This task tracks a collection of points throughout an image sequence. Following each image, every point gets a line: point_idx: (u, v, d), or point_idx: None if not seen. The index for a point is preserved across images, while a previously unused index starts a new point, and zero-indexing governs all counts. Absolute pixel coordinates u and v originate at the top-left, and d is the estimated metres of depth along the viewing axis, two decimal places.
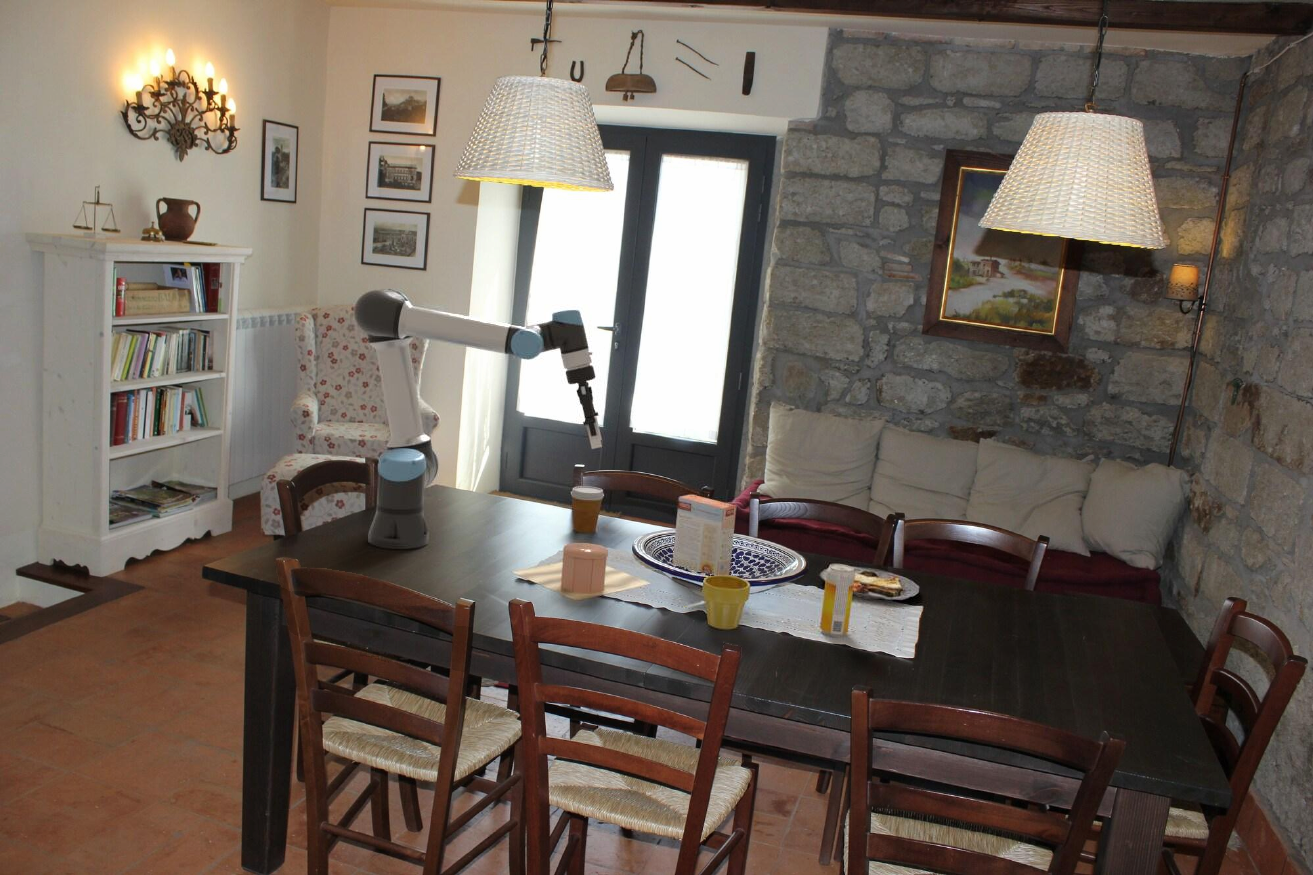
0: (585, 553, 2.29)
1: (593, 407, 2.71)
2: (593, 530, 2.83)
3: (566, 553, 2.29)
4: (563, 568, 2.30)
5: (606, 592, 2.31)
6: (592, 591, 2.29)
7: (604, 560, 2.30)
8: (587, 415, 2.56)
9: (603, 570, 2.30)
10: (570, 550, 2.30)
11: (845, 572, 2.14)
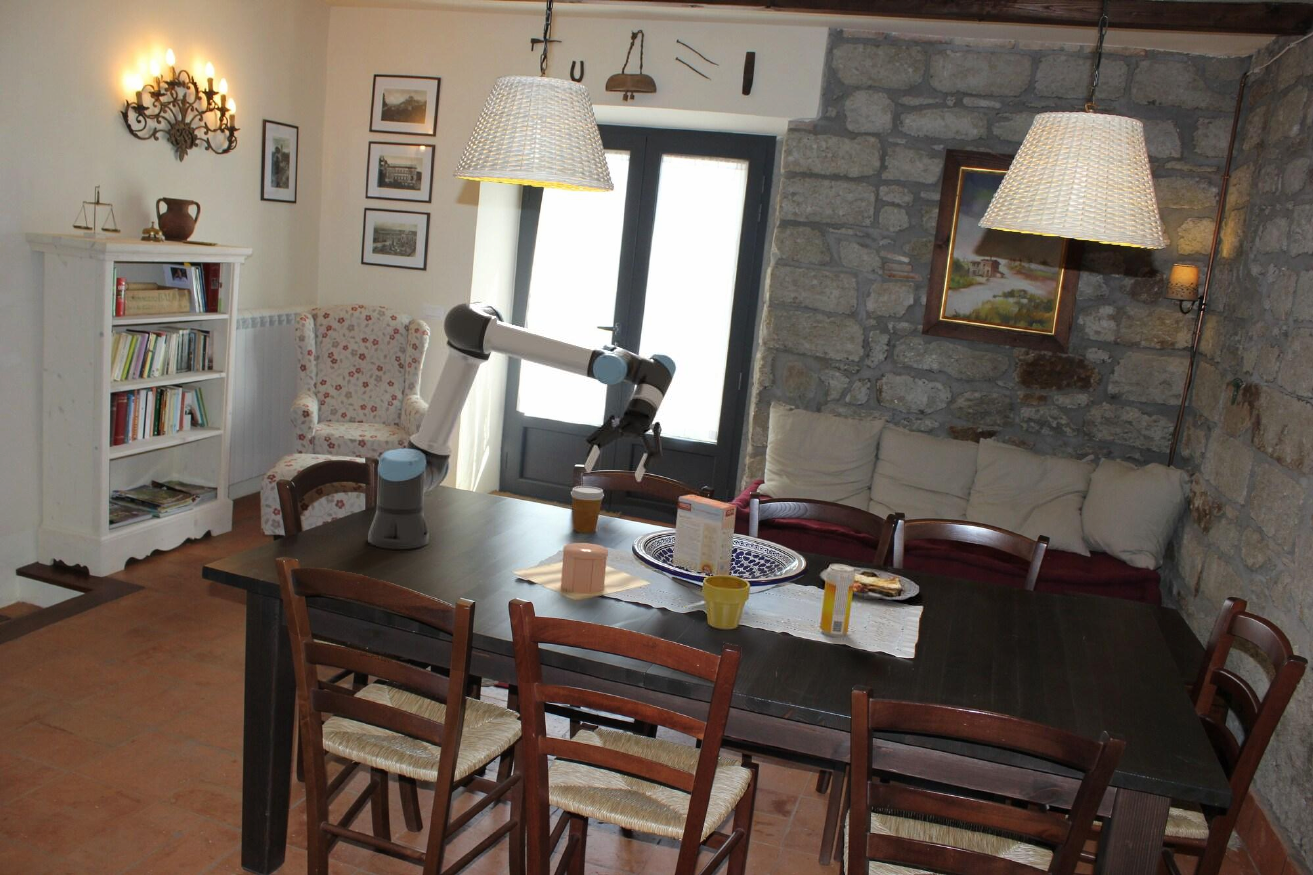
0: (585, 553, 2.29)
1: None
2: (593, 530, 2.83)
3: (566, 553, 2.29)
4: (563, 568, 2.30)
5: (606, 592, 2.31)
6: (592, 591, 2.29)
7: (604, 560, 2.30)
8: (660, 449, 2.40)
9: (603, 570, 2.30)
10: (570, 550, 2.30)
11: (845, 572, 2.14)
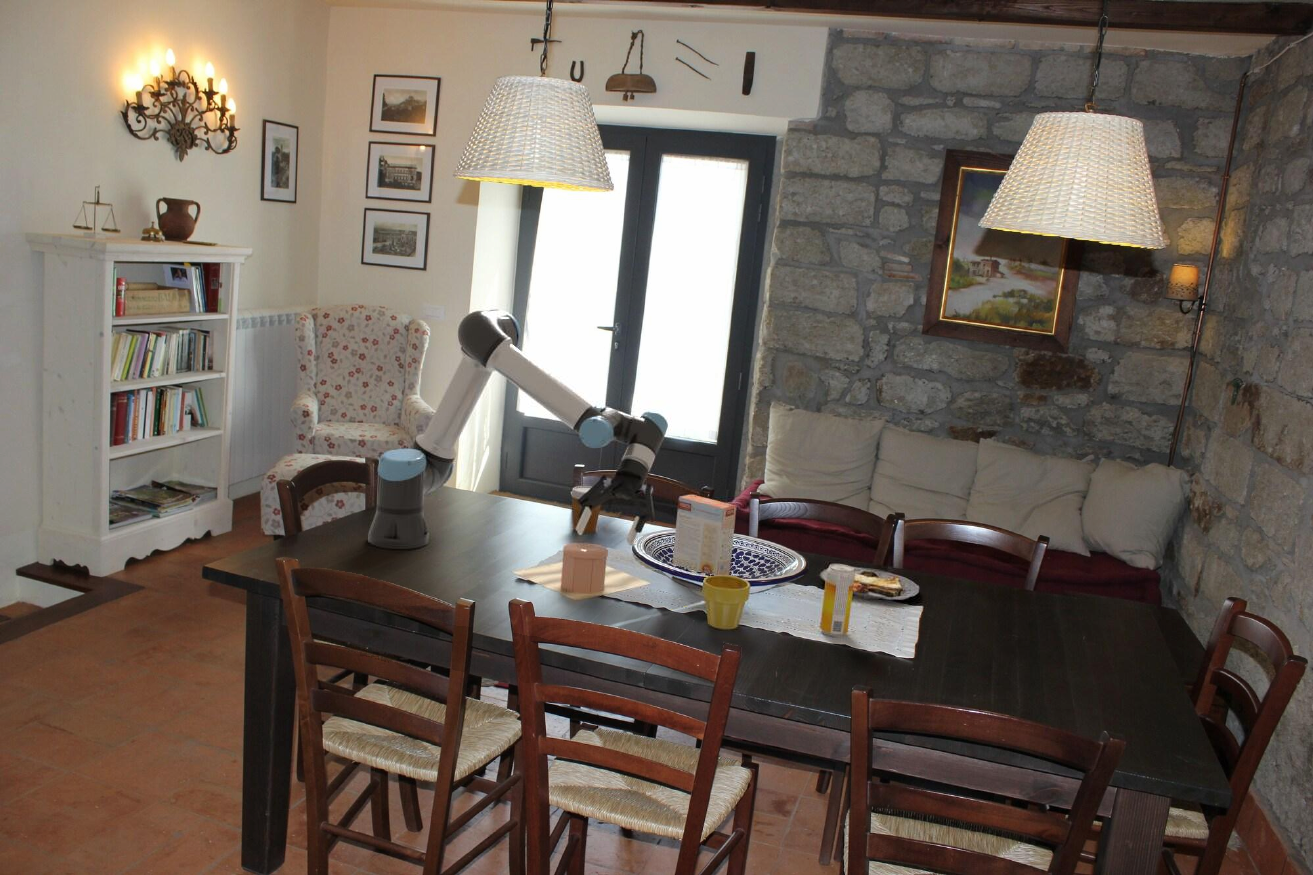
0: (585, 553, 2.29)
1: None
2: (593, 530, 2.83)
3: (566, 553, 2.29)
4: (563, 568, 2.30)
5: (606, 592, 2.31)
6: (592, 591, 2.29)
7: (604, 560, 2.30)
8: (652, 511, 2.38)
9: (603, 570, 2.30)
10: (570, 550, 2.30)
11: (845, 572, 2.14)
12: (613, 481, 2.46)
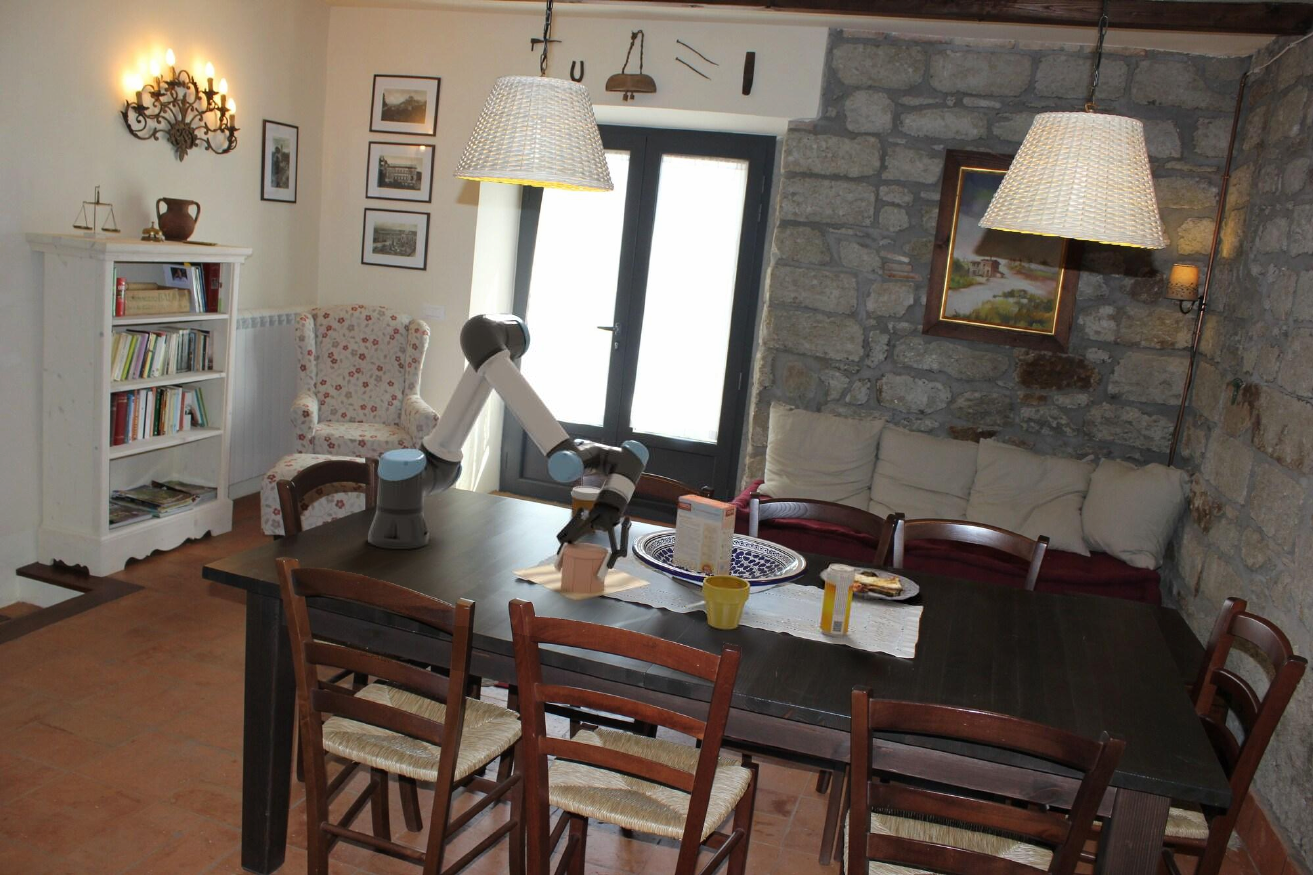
0: (585, 553, 2.29)
1: (579, 538, 2.38)
2: (593, 530, 2.83)
3: (566, 553, 2.29)
4: (563, 568, 2.30)
5: (606, 592, 2.31)
6: (592, 591, 2.29)
7: None
8: (625, 547, 2.31)
9: None
10: (570, 550, 2.30)
11: (845, 572, 2.14)
12: (591, 512, 2.39)
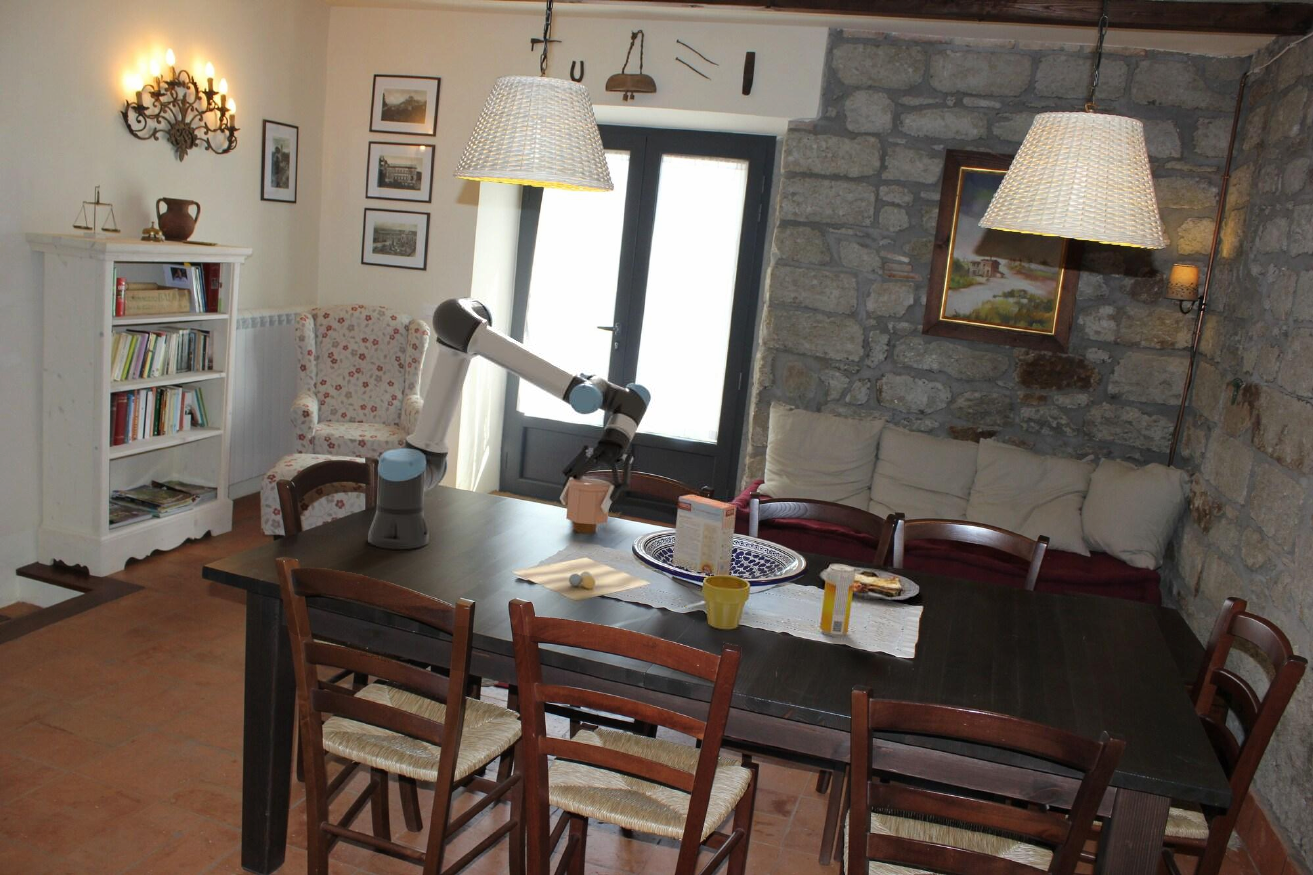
0: (589, 485, 2.41)
1: None
2: (593, 530, 2.83)
3: (571, 486, 2.41)
4: (568, 500, 2.42)
5: (606, 592, 2.31)
6: (596, 522, 2.41)
7: None
8: (628, 481, 2.43)
9: None
10: (575, 483, 2.42)
11: (845, 572, 2.14)
12: (595, 450, 2.51)
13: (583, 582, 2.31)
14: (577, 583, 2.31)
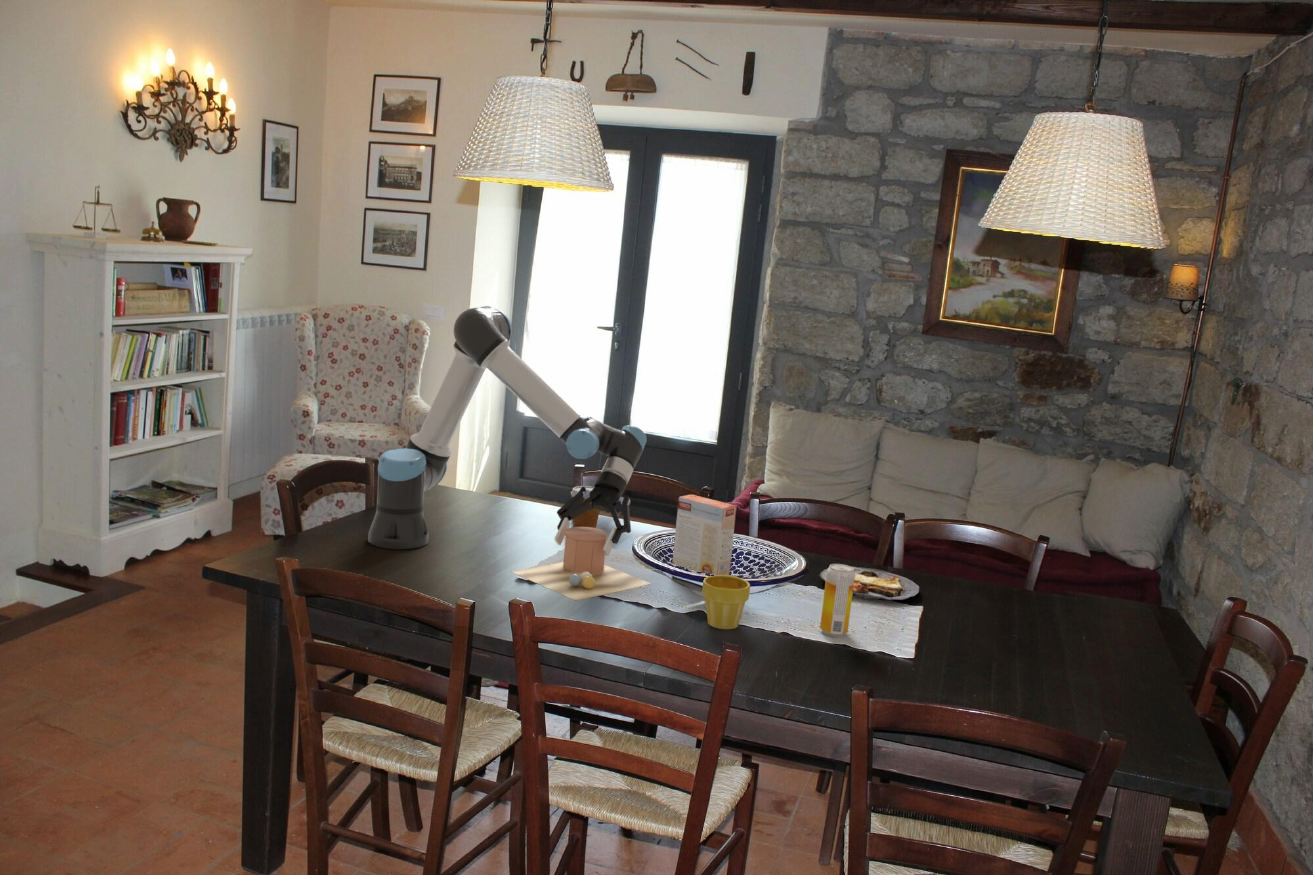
0: (586, 535, 2.43)
1: None
2: None
3: (568, 536, 2.44)
4: (565, 550, 2.45)
5: (606, 592, 2.31)
6: (592, 571, 2.44)
7: (604, 542, 2.45)
8: (629, 523, 2.46)
9: (603, 552, 2.45)
10: (572, 533, 2.45)
11: (845, 572, 2.14)
12: (592, 493, 2.53)
13: (583, 582, 2.31)
14: (577, 583, 2.31)
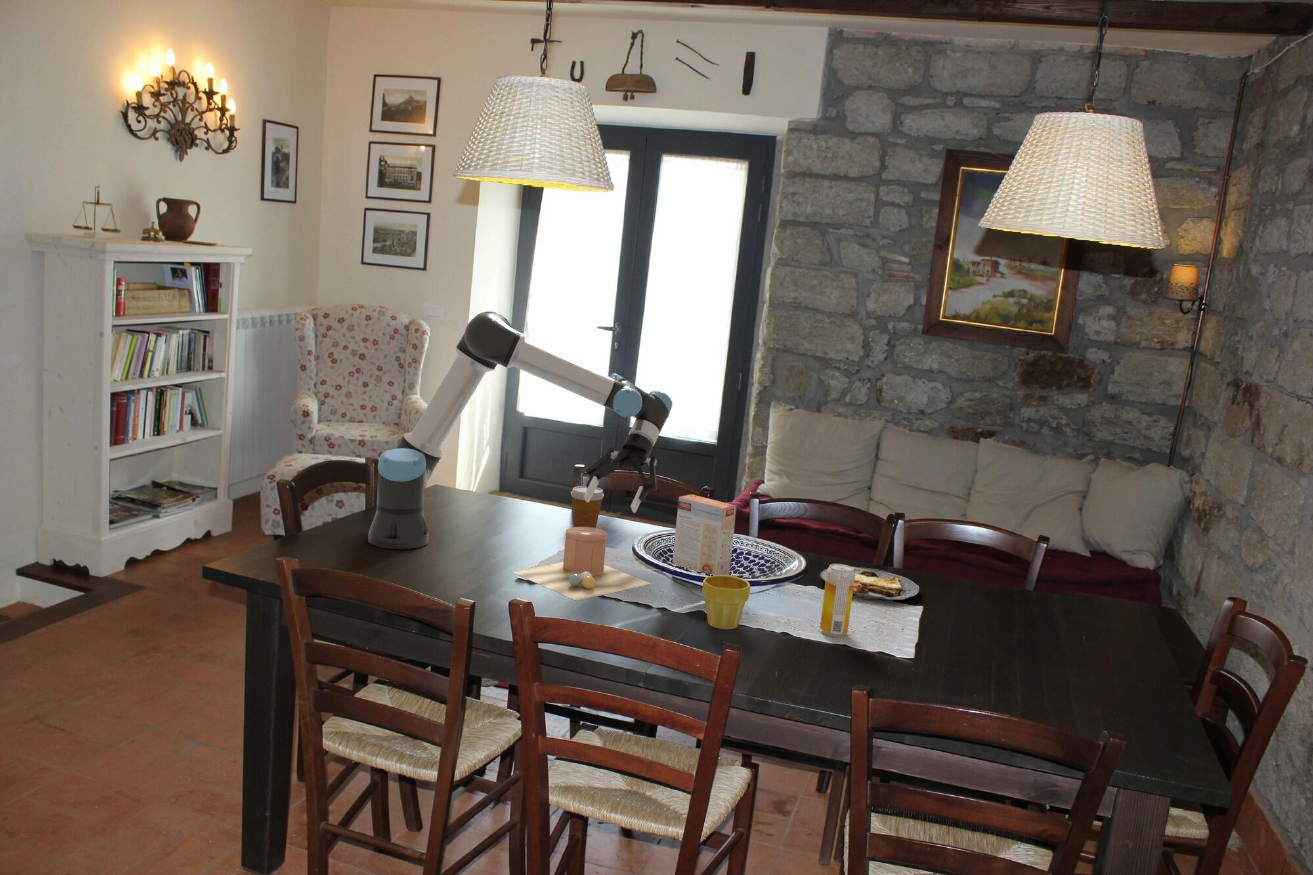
0: (586, 535, 2.43)
1: (607, 474, 2.64)
2: None
3: (568, 536, 2.44)
4: (565, 550, 2.45)
5: (606, 592, 2.31)
6: (592, 571, 2.44)
7: (604, 542, 2.45)
8: (655, 482, 2.57)
9: (603, 552, 2.45)
10: (572, 533, 2.45)
11: (845, 572, 2.14)
12: (620, 454, 2.64)
13: (583, 582, 2.31)
14: (577, 583, 2.31)
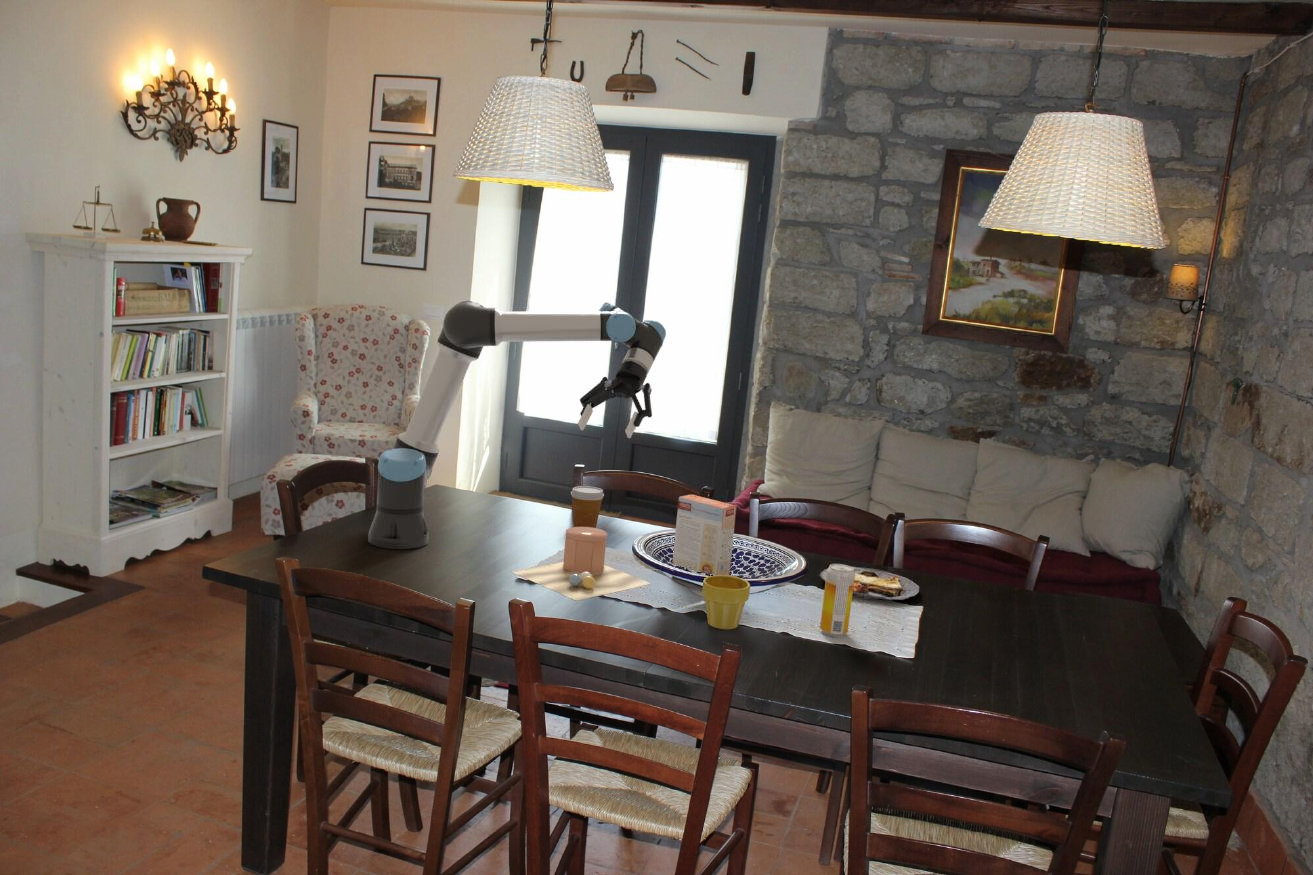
0: (586, 535, 2.43)
1: None
2: None
3: (568, 536, 2.44)
4: (565, 550, 2.45)
5: (606, 592, 2.31)
6: (592, 571, 2.44)
7: (604, 542, 2.45)
8: (650, 407, 2.54)
9: (603, 552, 2.45)
10: (572, 533, 2.45)
11: (845, 572, 2.14)
12: (613, 382, 2.61)
13: (583, 582, 2.31)
14: (577, 583, 2.31)
